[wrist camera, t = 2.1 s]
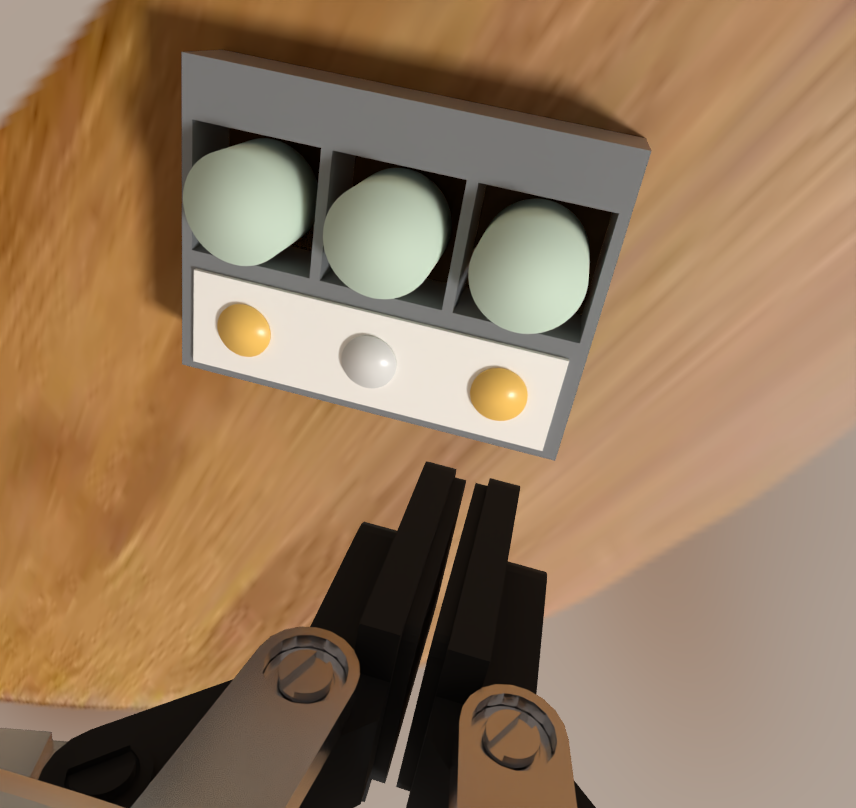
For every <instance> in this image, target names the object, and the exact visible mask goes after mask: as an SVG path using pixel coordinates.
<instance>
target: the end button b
mask: <svg viewBox="0 0 856 808" xmlns="http://www.w3.org/2000/svg"><path fill="white" fill-rule="evenodd" d="M589 261H590V245H589V240H588V236H587V233H586V230H585V228H584V227H583V225H582V223H581V222H580V220H579V219H578V218H577V217H576V216H575V214H574V213H572V212H571V211H570V210H569V209H568V208H566V207H564V206H563V205H561V204H559V203H556V202H554V201H550V200H546V199H526V200H522V201H518V202H516V203H513V204H511V205H509V206H508V207H506V208H504V209H503V210H502V211H500V212H499V213H498V214H497V215H496V216H495V217H494V218H493V220H492V221H491V222H490V224H489V226H488V227H487V229H486V231H485V232H484V234H483V236H482V238H481V240H480V241H479V243H478V245H477V247H476V248H475V250H474V253H473V255H472V257H471V261H470V265H469V272H468V280H469V287H470V291H471V294H472V297H473V299H474V301H475V303H476V305H477V307H478V308H479V309H480V311H481V312H482V313H483V314H484V315H485V316H486V317H487V318H488V319H489V320H490V321H491V322H493V323H494V324H496V325H498V326H499V327H501V328H503V329H506V330H508V331H512V332H515V333H521V334H536V333H542V332H546V331H549V330H552V329H554V328H556V327H558V326H560V325H561V324H563V323H565V322H566V321H567V320H568V319H569V318H571V317H572V316H573V314H574V313H575V312H576V311H577V310H578V308H579V307H580V305H581V304H582V302H583V300H584V297H585V295H586V292H587V288H588V281H589Z"/></svg>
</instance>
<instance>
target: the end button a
mask: <svg viewBox="0 0 856 808" xmlns="http://www.w3.org/2000/svg"><path fill="white" fill-rule="evenodd" d="M317 190H318V183H317V180H316V177H315V175H314V173H313V170H312V169H311V167H310V165H309V164H308V162H307V161H306V160H305V159H304V157H303V156H302V155H301V154H300V153H299V152H297V151H296V150H295V149H294V148H292V147H291V146H289V145H287V144H285V143H283V142H281V141H278V140H275V139H269V138H258V139H253V140H250V141H247V142H243V143H240V144H237V145H234V146H231V147H228V148H225V149H222V150H219V151H215V152H212V153H210V154H208V155H206V156H204V157H202V158H201V159H200V160H198V161H197V162H196V164H195V165H194V166H193V167H192V169H191V170H190V172H189V174H188V176H187V178H186V181H185V184H184V190H183V206H184V211H185V215H186V219H187V221H188V224H189V226H190V228H191V230H192V232H193V234H194V235H195V237H196V238H197V240H198V241H199V242H200V243H201V244H202V246H203V247H204V248H206V249H207V250H208V251H209V252H210V253H211V254H213V255H214V256H216V257H217V258H219V259H221V260H223V261H225V262H227V263H230V264H234V265H239V266H254V265H258V264H261V263H264V262H266V261H268V260H269V259H271V258H273V257H274V256H275V255H277V254H278V253H280V252H281V251H283V250H284V249H285V248H287V247H288V246H290V245H291V244H293V243H294V242H295V241H297V240H298V239H300V238H301V237H302V236H304V235H305V234H306V233H307V232H308V231H309V230H310V229H311V227H312V225H313V224H314V222H315V212H316V201H317Z"/></svg>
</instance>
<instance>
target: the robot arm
mask: <svg viewBox="0 0 856 808" xmlns="http://www.w3.org/2000/svg"><path fill="white" fill-rule="evenodd" d="M455 475H456V469H454V468H450V467H446V466H442V465H438V464H435V463H431V462H426V463H425V465H424V467H423V470H422V472H421V475H420V477H419V480H418V482H417V484H416V487H415V489H414V492H413V494H412V497H411V499H410V501H409V504H408V506H407V509H406V511H405V514H404V516H403V518H402V521H401V523H400V526H399V528H398V531H396V530H392V529H389V528H385V527H381V526H378V525H374V524H370V523H367V522H363V523H362V524H361V526H360V527H359V529H358V531H357V533H356V535H355V537H354V539H353V541H352V543H351V545H350V547H349V549H348V551H347V553H346V555H345V557H344V560H343V562H342V564H341V566H340V568H339V570H338V572H337V574H336V576H335V578H334V580H333V582H332V584H331V586H330V588H329V590H328V592H327V594H326V596H325V598H324V600H323V602H322V604H321V606H320V608H319V610H318V612H317V614H316V616H315V618H314V620H313V622H312V624H311V626H310V627H296V628H291V629H286V630H283V631H281V632H279V633H277V634H275V635H273V636H271V637H270V638H269V639H267V640H266V641H265V642H264V643H263V644H262V645H261V646H260V647H259V648H258V649H257V650H256V652H255V653H254V654H253V655H252V657H251V658H250V659H249V660H248V662H247V663H246V664H245V665H244V667H243V668H242V669H241V670H240V672H239V673H238V674H237V675H236V677H235V678H234V679H233V680H230V681H227V682H224V683H222V684H219V685H216V686H213V687H210V688H207V689H205V690H202V691H199V692H196V693H193V694H190V695H188V696H185V697H182V698H179V699H176V700H173V701H171V702H168V703H165V704H162V705H159V706H156V707H154V708H151V709H148V710H145V711H142V712H139V713H137V714H134V715H131V716H128V717H125V718H123V719H120V720H117V721H114V722H111V723H108V724H105V725H103V726H100V727H97V728H94V729H91V730H89V731H87V732H85V733H83V734H81V735H79V736H77V737H75V738H73V739H71V740H70V741H68V742H66V741H53V739H52V732H46V731H33V730H21V729H8V728H0V808H354V807H356V806H358V805H360V804H361V801H363V802H365V799H366V796H367V793H368V790H369V787H370V783H371V780H372V779H373V780H376V781H379V782H382V783H385V781H386V778H387V775H388V772H389V768H390V764H391V761H392V758H393V754H394V751H395V747H396V744H397V740H398V736H399V733H400V730H401V726H402V723H403V719H404V716H405V712H406V708H407V705H408V702H409V698H410V695H411V692H412V688H413V685H414V681H415V678H416V674H417V671H418V667H419V664H420V660H421V657H422V653H423V650H424V646H425V643H426V639H427V636H428V632H429V629H430V625H431V622H432V618H433V615H434V611H435V608H436V604H437V600H438V596H439V592H440V588H441V583H442V579H443V575H444V571H445V567H446V563H447V559H448V554H449V550H450V546H451V542H452V538H453V534H454V530H455V525H456V521H457V517H458V513H459V509H460V505H461V501H462V496H463V492H464V488H465V484H466V480H463V479H459V478H455ZM519 492H520V486H518V485H514V484H510V483H506V482H503V481H499V480H495V479H491V478H490V480H489V484H488V486H485V485H481V484H478V483H476V484H475V488H474V491H473V495H472V499H471V502H470V506H469V509H468V513H467V517H466V520H465V524H464V528H463V531H462V535H461V538H460V542H459V546H458V549H457V553H456V556H455V560H454V564H453V567H452V571H451V574H450V578H449V582H448V585H447V589H446V593H445V596H444V600H443V603H442V607H441V611H440V614H439V618H438V621H437V625H436V629H435V632H434V636H433V640H432V644H431V648H430V651H429V655H428V659H427V663H426V667H425V672H424V676H423V680H422V684H421V688H420V692H419V696H418V700H417V704H416V709H415V712H414V717H413V720H412V725H411V729H410V733H409V737H408V741H407V746H406V749H405V753H404V757H403V761H402V765H401V769H400V774H399V778H398V782H397V787H399V788H401V789H404V790H408V791H410V795H409V798H408V802H407V807H406V808H596V807H595V806H594V805H593V804H592V802H591V801H590V800H589V799H588V798H587V796H586V795H585V794H584V792H583V791H582V790H581V789H580V787H579V786H578V785H577V784H576V782H575V781H574V779H573V770H572V764H571V756H570V747H569V739H568V736H567V733H566V729H565V726H564V723H563V722H562V720H561V719H560V717H559V716H558V714H557V712H556V711H555V710H554V709H553V708H552V707H551V706H550V705H549V704H548V703H547V702H546V701H545V700H544V699H543V698H541V697H539V696H538V695H536V690H537V680H538V670H539V659H540V648H541V637H542V627H543V616H544V606H545V595H546V584H547V573H546V572H544V571H540V570H537V569H533V568H529V567H526V566H522V565H519V564H515V563H511V562H508V555H509V550H510V544H511V538H512V532H513V527H514V521H515V515H516V509H517V503H518V498H519Z"/></svg>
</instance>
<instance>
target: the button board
mask: <svg viewBox="0 0 856 808" xmlns="http://www.w3.org/2000/svg"><path fill="white" fill-rule="evenodd" d="M230 128H234V129H238V130H243V131H247V132H252V133H256V134H261V135H265V136H270V137H274V138H279V139H283V140H288V141H293V142H297V143H302V144H306V145H311V146H315V147H320V148H321V157H320V168H319V179H318V190H317V201H316V212H315V223H314V234H313V245H312V251H309V250H305V249H301V248H297V247H292V246H288V247H287V248H285V249H284V250H283V251H281V252H280V253H278V254H277V255H275V256H274V257H273V258H271V259H269V260H268V261H266V262H264V263H261V264H258V265H254V266H239V265H234V264H230V263H227V262H225V261H223V260H221V259H219V258H217V257H216V256H214V255H213V254H211V253H210V252H209V251H208V250H207V249H206V248H204V247H203V246H202V244H201V243H200V242H199V241H198V240H197V238H196V237H195V235H194V234H193V232H192V230H191V228H190V226H189V224H188V221H187V219H186V215H185V211H184V206H183V190H184V184H185V181H186V178H187V176H188V174H189V172H190V170H191V169H192V167H193V166H194V165H195V164H196V162H197V161H198V160H200V159H201V158H202V157H204V156H206V155H208V154H210V153H212V152H215V151H219V150H222V149H225V148H228V147H229V138H230ZM650 154H651V149H650V147H649V144H648V142H647V140H646V138H642V137H637V136H633V135H628V134H623V133H618V132H614V131H609V130H604V129H599V128H594V127H590V126H585V125H580V124H575V123H571V122H566V121H561V120H556V119H551V118H547V117H542V116H537V115H532V114H528V113H523V112H518V111H513V110H508V109H504V108H499V107H494V106H489V105H485V104H480V103H475V102H470V101H465V100H461V99H456V98H451V97H446V96H442V95H437V94H432V93H427V92H422V91H418V90H413V89H408V88H403V87H398V86H394V85H389V84H384V83H379V82H375V81H370V80H365V79H360V78H355V77H351V76H346V75H341V74H336V73H332V72H327V71H322V70H317V69H312V68H308V67H303V66H298V65H293V64H289V63H284V62H279V61H274V60H269V59H265V58H260V57H255V56H250V55H246V54H241V53H236V52H231V51H226V50H206V51H188V52H182V364H183V365H187V366H191V367H195V368H199V369H203V370H207V371H210V372H214V373H218V374H222V375H226V376H230V377H234V378H237V379H241V380H245V381H249V382H253V383H257V384H261V385H265V386H268V387H272V388H276V389H280V390H284V391H288V392H292V393H295V394H299V395H303V396H307V397H311V398H315V399H319V400H322V401H326V402H330V403H334V404H338V405H342V406H346V407H350V408H353V409H357V410H361V411H365V412H369V413H373V414H377V415H380V416H384V417H388V418H392V419H396V420H400V421H404V422H408V423H411V424H415V425H419V426H423V427H427V428H431V429H435V430H438V431H442V432H446V433H450V434H454V435H458V436H462V437H465V438H469V439H473V440H477V441H481V442H485V443H489V444H493V445H496V446H500V447H504V448H508V449H512V450H516V451H520V452H523V453H527V454H531V455H535V456H539V457H543V458H547V459H551V460H554V461H555V459H556V456H557V453H558V450H559V446H560V443H561V440H562V437H563V434H564V430H565V427H566V424H567V421H568V417H569V414H570V411H571V408H572V405H573V401H574V398H575V395H576V392H577V388H578V385H579V382H580V379H581V376H582V372H583V369H584V366H585V363H586V360H587V356H588V353H589V350H590V347H591V343H592V340H593V337H594V334H595V331H596V327H597V324H598V321H599V318H600V314H601V311H602V308H603V305H604V302H605V298H606V295H607V292H608V289H609V286H610V282H611V279H612V276H613V273H614V269H615V266H616V263H617V260H618V257H619V253H620V250H621V247H622V244H623V240H624V237H625V234H626V231H627V228H628V224H629V221H630V218H631V215H632V212H633V208H634V205H635V202H636V199H637V195H638V192H639V189H640V186H641V183H642V179H643V176H644V173H645V170H646V166H647V163H648V160H649V157H650ZM356 156H360V157H365V158H369V159H374V160H379V161H383V162H388V163H392V164H397V165H401V166H406V167H410V168H415V169H419V170H424V171H428V172H433V173H437V174H442V175H446V176H451V177H456V178H460V179H465V180H467V182H466V187H465V193H464V198H463V203H462V208H461V213H460V219H459V224H458V229H457V234H456V240H455V245H454V250H453V255H452V260H451V266H450V271H449V276H448V281H447V283H445V282H440V281H436V280H432V279H428V278H426V279H425V280H424V281H423V283H422V284H421V285H420V286H419V287H418V288H416V289H415V290H413V291H412V292H410V293H408V294H406V295H404V296H401V297H398V298H394V299H375V298H370V297H367V296H364V295H362V294H360V293H357V292H356V291H354V290H352V289H351V288H349V287H348V286H347V285H346V284H344V283H343V282H342V281H341V280H340V279H339V277H338V276H337V275H336V274H335V272H334V271H333V269H332V268H331V266H330V264H329V262H328V259H327V257H326V254H325V250H324V245H323V228H324V223H325V219H326V216H327V214H328V212H329V209H330V208H331V206H332V205H333V203H334V202H335V201H336V200H337V199H338V198H339V197H340V196H341V195H342V194H343V193H345V192H346V191H348V190H349V189H351V188H352V184H353V175H354V167H355V158H356ZM486 185H492V186H496V187H501V188H505V189H510V190H514V191H519V192H523V193H528V194H533V195H537V196H542V197H546V198H551V199H555V200H560V201H564V202H569V203H573V204H578V205H582V206H587V207H591V208H596V209H600V210H605V211H609V212H612V214H611V217H610V221H609V224H608V228H607V231H606V234H605V238H604V241H603V244H602V248H601V251H600V255H599V258H598V261H597V265H596V268H595V271H594V275H593V278H592V282H591V285H590V288H589V292H588V295H587V298H586V302H585V305H584V308H583V312H582V315H580V314H576V313H574V314H573V316H572V317H571V318H569V319H568V320H567V321H566V322H565V323H563V324H561V325H560V326H558V327H556V328H554V329H552V330H549V331H546V332H542V333H536V334H521V333H515V332H512V331H508V330H506V329H503V328H501V327H499V326H498V325H496V324H494V323H493V322H491V321H490V320H489V319H488V318H487V317H486V316H485V315H484V314H483V313H482V312H481V311H480V309H479V308H478V307H477V305H476V303H475V301H474V299H473V297H472V294H471V291H470V288H466V282H467V278H468V272H469V265H470V261H471V257H472V253H473V248H474V244H475V239H476V234H477V229H478V224H479V219H480V214H481V209H482V205H483V200H484V195H485V190H486Z"/></svg>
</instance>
